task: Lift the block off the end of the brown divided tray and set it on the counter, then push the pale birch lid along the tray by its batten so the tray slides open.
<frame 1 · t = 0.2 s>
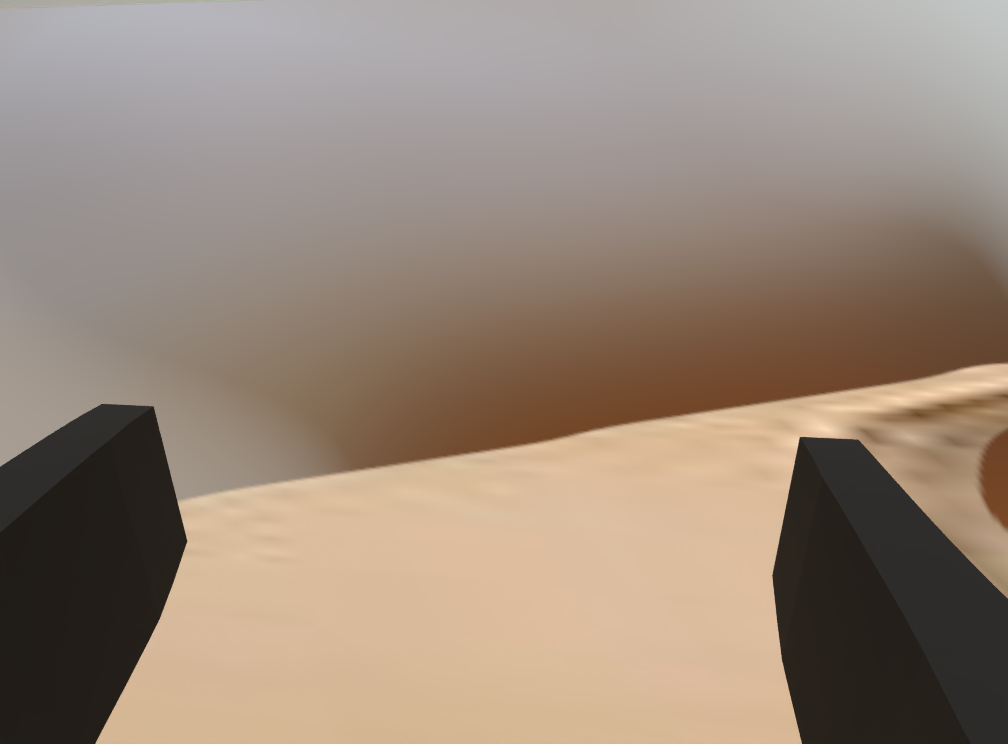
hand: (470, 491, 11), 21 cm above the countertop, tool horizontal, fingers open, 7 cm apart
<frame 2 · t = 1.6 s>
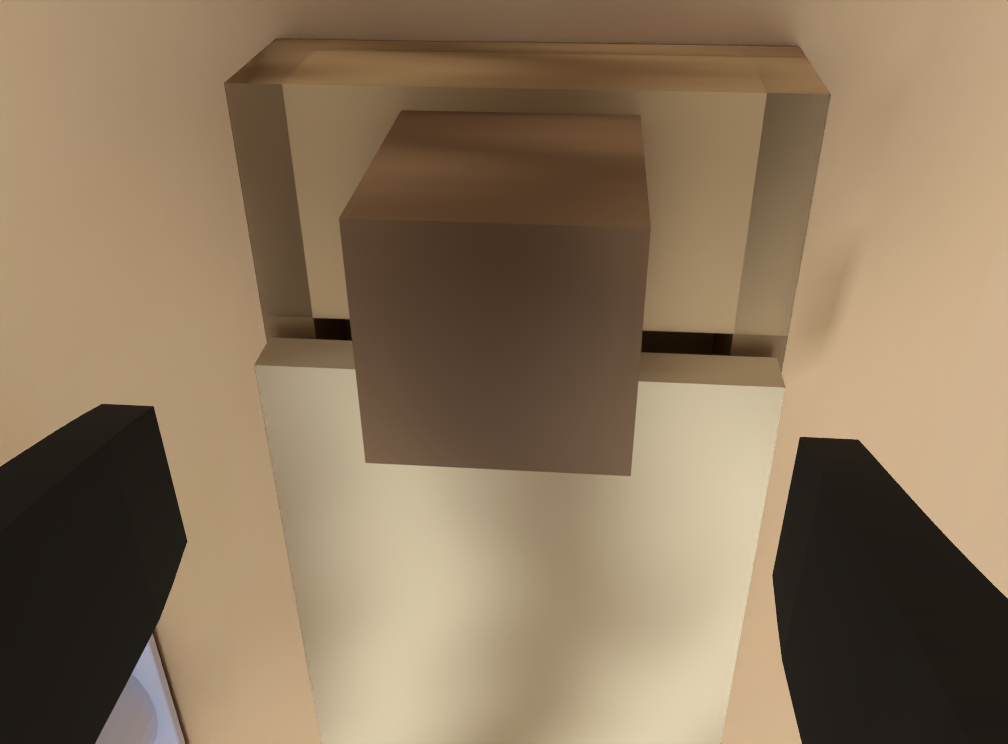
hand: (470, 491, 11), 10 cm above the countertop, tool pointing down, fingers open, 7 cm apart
brown divided tray: (528, 458, 24), on the countertop
lid: (512, 679, 21), point 5 cm above the countertop, slide at 0.0 cm
block: (519, 223, 17), point 3 cm above the countertop, touching brown divided tray
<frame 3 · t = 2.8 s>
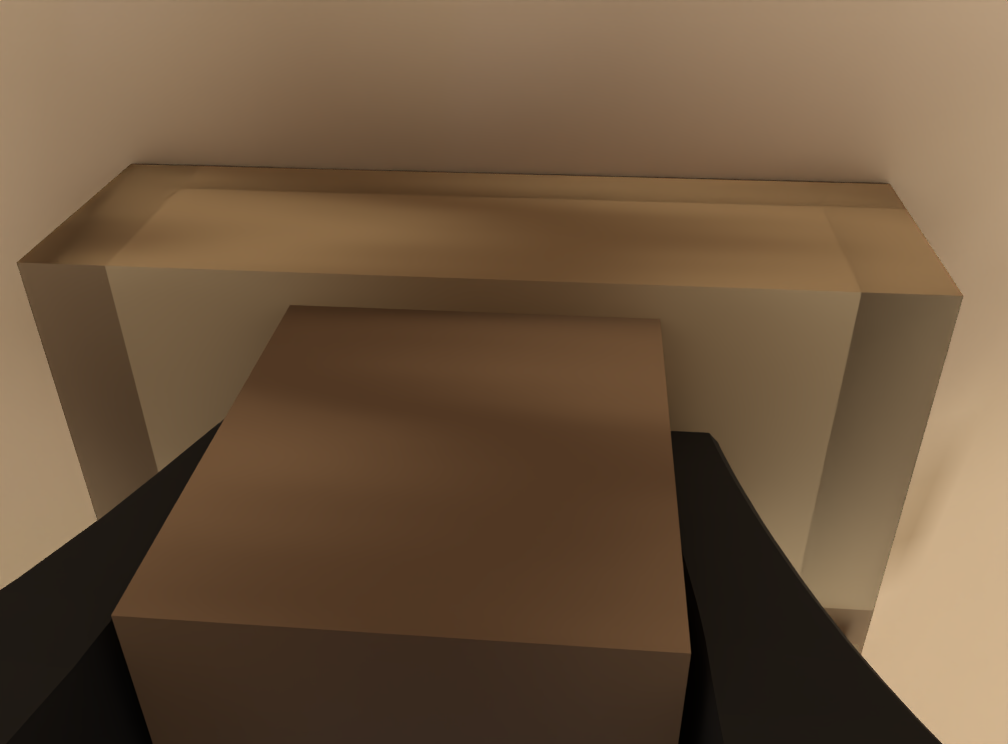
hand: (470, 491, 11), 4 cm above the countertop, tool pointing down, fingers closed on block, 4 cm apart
brown divided tray: (504, 681, 18), on the countertop
block: (476, 459, 11), point 3 cm above the countertop, touching gripper, brown divided tray
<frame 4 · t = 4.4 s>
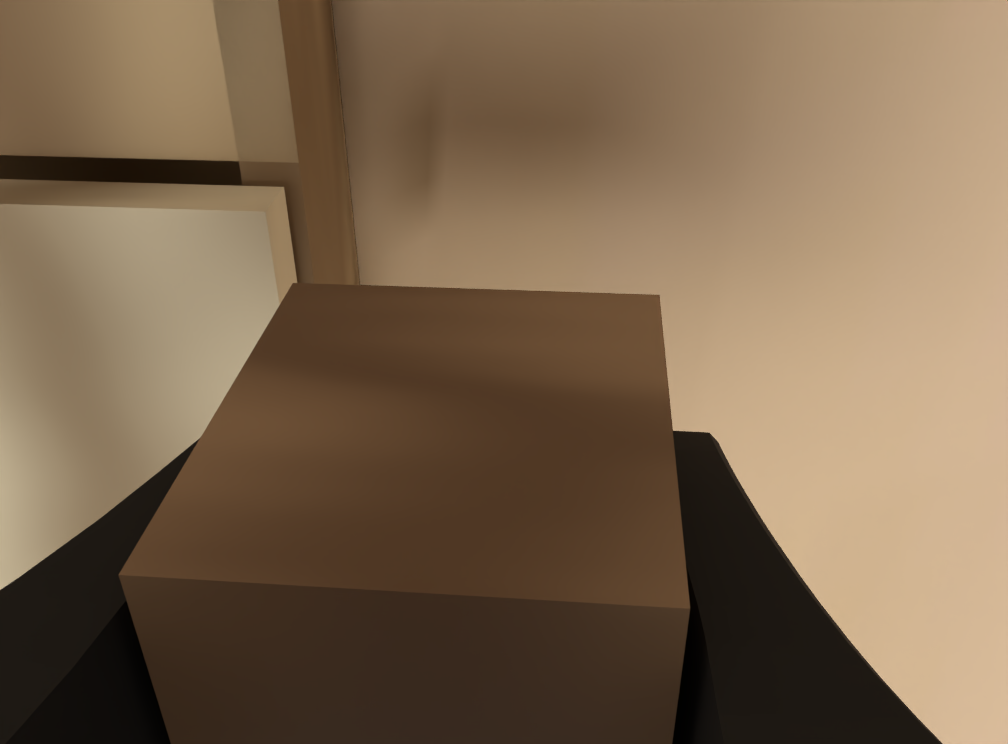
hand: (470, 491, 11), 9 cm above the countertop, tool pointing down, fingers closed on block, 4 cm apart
brown divided tray: (146, 345, 21), on the countertop
lid: (72, 577, 19), point 5 cm above the countertop, slide at 0.0 cm
block: (477, 437, 11), point 8 cm above the countertop, touching gripper
when the fingers open (2 cm above the countertop, at t = 6.0 s): block drops 1 cm, on the countertop.
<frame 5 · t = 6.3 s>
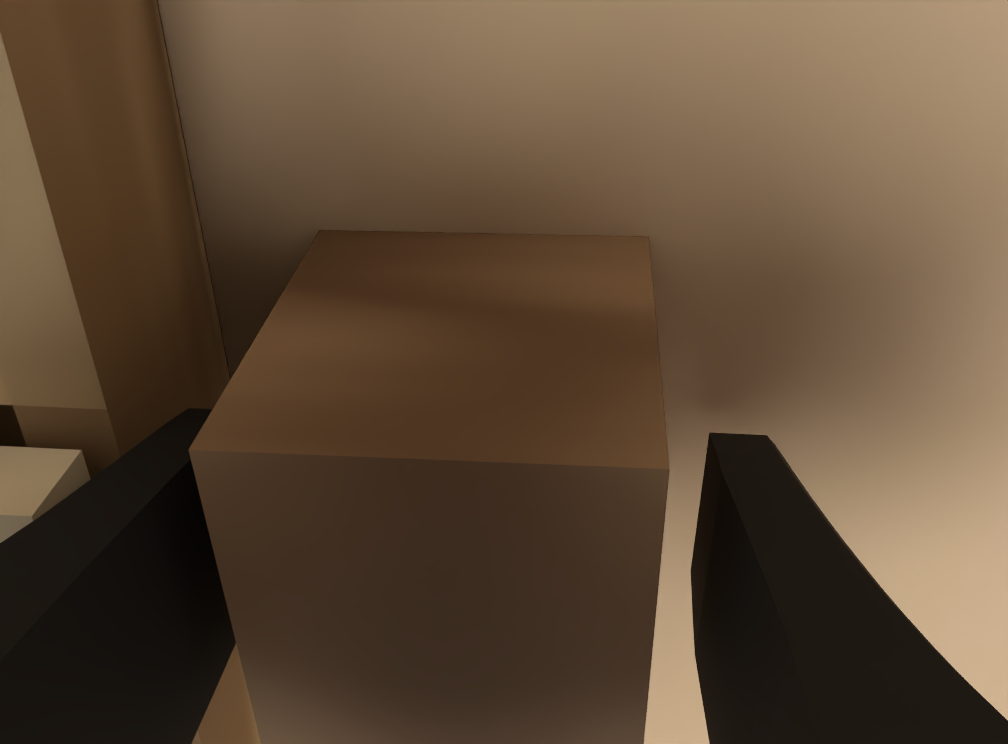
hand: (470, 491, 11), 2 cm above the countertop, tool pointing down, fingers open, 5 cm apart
block: (487, 369, 13), on the countertop
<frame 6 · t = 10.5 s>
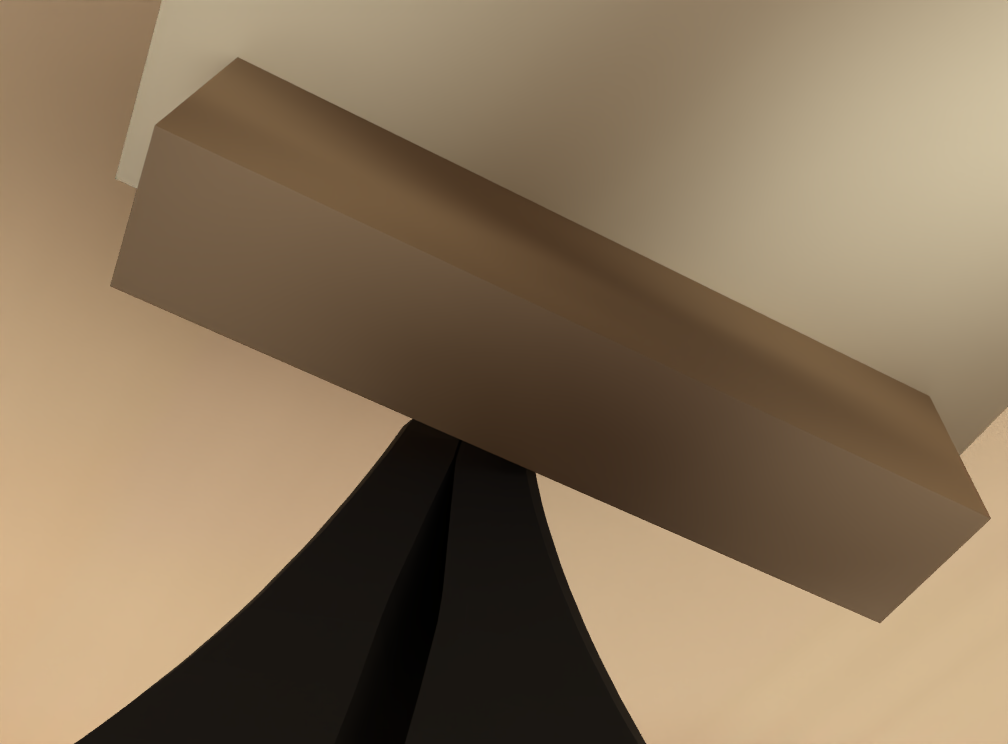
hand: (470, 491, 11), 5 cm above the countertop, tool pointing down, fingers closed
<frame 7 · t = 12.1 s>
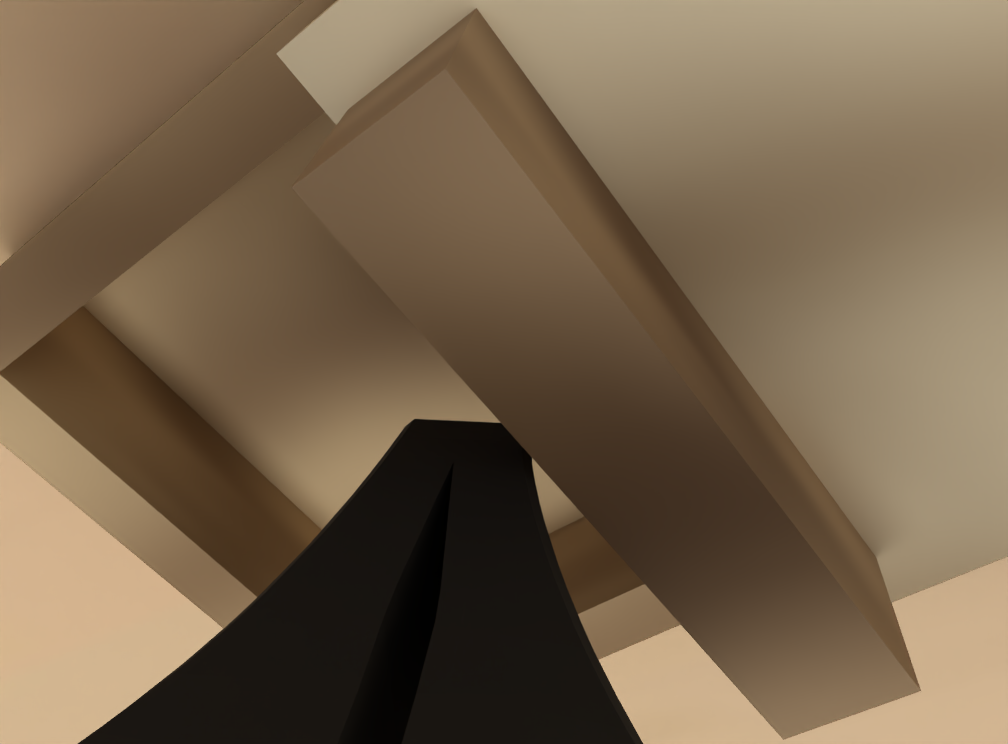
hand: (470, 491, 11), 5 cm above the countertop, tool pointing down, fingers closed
brown divided tray: (707, 158, 14), on the countertop
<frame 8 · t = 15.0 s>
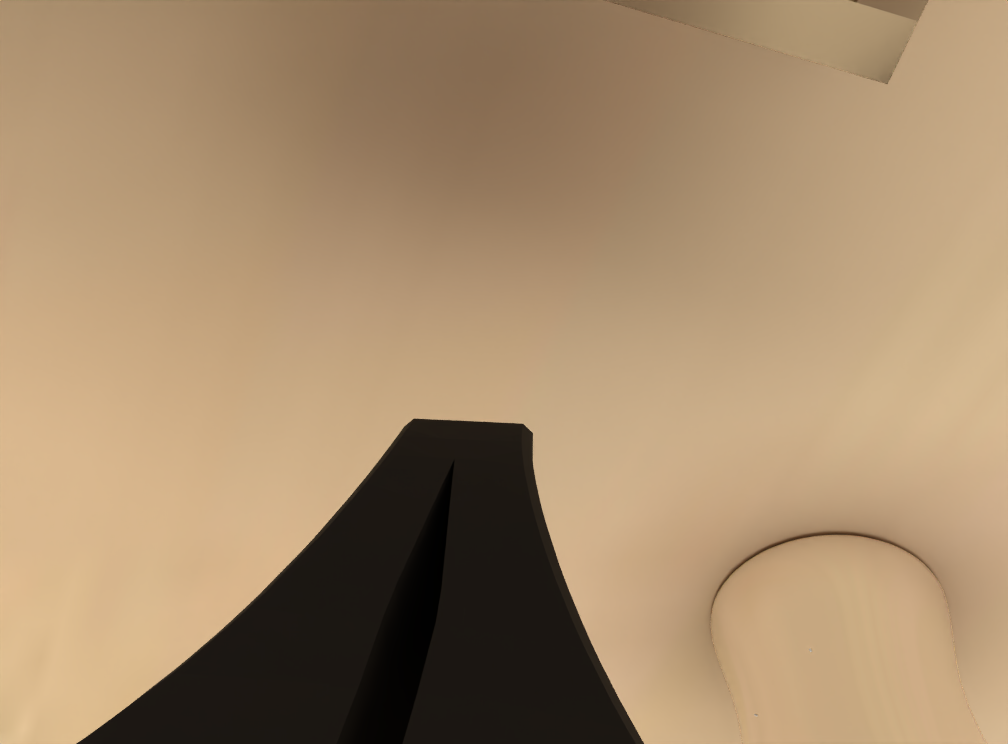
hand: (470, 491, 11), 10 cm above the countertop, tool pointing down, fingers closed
beer glass: (823, 611, 26), on the countertop
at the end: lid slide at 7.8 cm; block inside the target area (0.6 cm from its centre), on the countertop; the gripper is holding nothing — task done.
